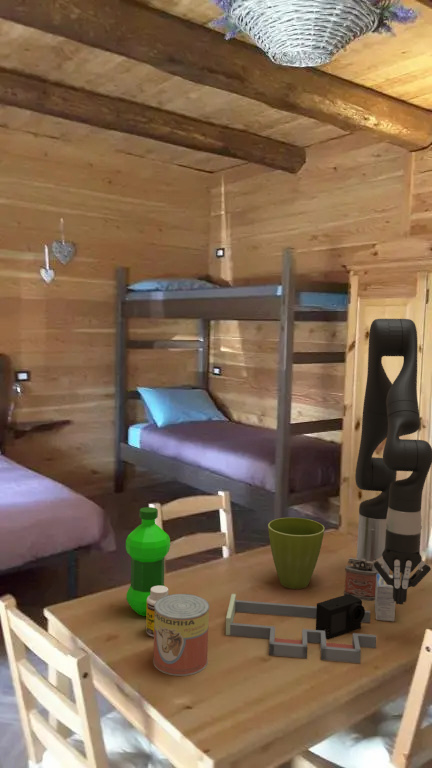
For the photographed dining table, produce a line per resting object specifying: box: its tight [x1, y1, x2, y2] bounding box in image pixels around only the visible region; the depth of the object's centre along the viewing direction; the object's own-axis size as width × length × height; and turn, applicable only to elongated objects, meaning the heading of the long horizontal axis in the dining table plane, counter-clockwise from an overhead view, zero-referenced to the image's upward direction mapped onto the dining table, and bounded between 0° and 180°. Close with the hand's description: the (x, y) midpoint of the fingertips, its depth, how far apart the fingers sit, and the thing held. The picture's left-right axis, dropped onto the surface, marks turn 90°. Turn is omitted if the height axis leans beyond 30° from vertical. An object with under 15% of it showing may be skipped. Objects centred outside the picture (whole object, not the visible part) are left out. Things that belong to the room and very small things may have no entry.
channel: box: [225, 593, 377, 664], centre depth 147 cm, size 20×33×4 cm, turn 83°
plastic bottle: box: [125, 506, 171, 617], centre depth 156 cm, size 10×10×25 cm
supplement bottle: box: [145, 585, 169, 638], centre depth 146 cm, size 6×6×10 cm
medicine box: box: [374, 574, 396, 622], centre depth 159 cm, size 8×4×9 cm, turn 168°
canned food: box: [152, 593, 210, 677], centre depth 134 cm, size 11×11×12 cm
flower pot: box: [267, 517, 325, 590], centre depth 175 cm, size 15×15×16 cm
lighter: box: [343, 557, 377, 602], centre depth 168 cm, size 8×3×10 cm, turn 71°
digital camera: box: [315, 594, 365, 640], centre depth 149 cm, size 10×5×7 cm, turn 124°
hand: (399, 602), depth 147 cm, fingers closed
